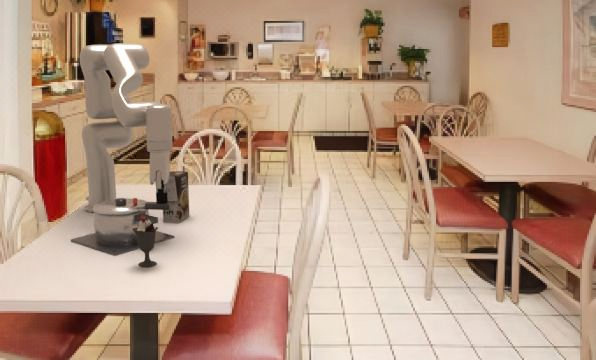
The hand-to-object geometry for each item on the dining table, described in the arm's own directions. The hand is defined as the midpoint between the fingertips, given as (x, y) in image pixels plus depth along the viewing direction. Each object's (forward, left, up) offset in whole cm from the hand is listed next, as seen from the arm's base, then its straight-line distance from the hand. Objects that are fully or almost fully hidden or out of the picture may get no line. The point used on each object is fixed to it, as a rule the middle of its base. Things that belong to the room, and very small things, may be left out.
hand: (162, 204), depth 190 cm
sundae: (+15, -19, -11) cm, 26 cm away
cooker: (-7, -9, -11) cm, 15 cm away
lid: (-6, -7, -1) cm, 9 cm away
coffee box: (-14, +17, -11) cm, 25 cm away
